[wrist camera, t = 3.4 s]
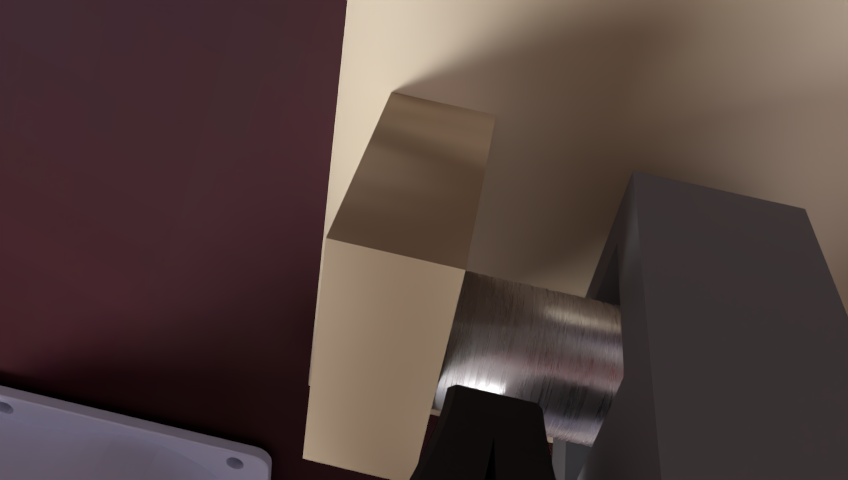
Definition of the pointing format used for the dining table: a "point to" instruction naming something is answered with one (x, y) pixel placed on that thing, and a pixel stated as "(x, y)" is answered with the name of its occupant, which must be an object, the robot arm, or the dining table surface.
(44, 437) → the robot arm
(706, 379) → the collar
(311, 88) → the dining table surface
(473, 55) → the pipe stand
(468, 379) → the pipe
